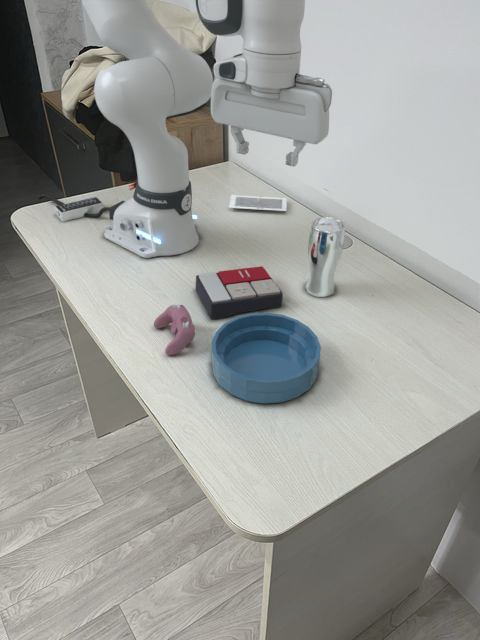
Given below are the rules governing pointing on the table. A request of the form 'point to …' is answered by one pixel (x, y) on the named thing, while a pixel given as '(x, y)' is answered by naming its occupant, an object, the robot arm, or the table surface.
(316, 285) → the beer glass
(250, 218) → the table surface
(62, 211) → the multiport hub
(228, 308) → the red and gray box
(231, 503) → the table surface
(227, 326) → the blue bowl
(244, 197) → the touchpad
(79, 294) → the table surface
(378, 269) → the table surface
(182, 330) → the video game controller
